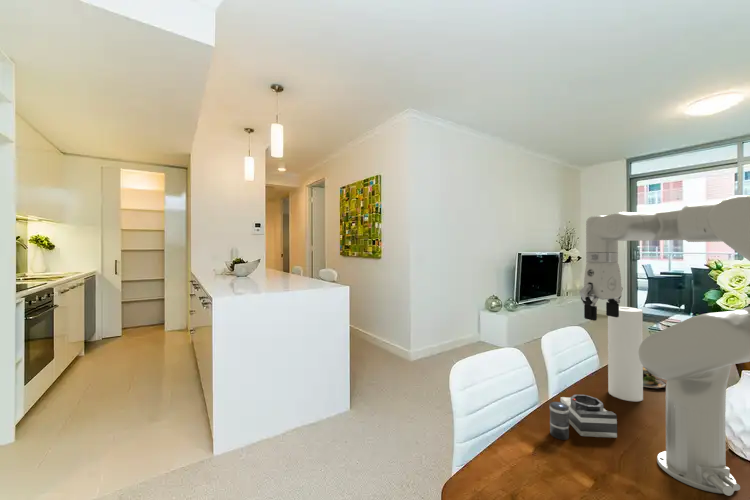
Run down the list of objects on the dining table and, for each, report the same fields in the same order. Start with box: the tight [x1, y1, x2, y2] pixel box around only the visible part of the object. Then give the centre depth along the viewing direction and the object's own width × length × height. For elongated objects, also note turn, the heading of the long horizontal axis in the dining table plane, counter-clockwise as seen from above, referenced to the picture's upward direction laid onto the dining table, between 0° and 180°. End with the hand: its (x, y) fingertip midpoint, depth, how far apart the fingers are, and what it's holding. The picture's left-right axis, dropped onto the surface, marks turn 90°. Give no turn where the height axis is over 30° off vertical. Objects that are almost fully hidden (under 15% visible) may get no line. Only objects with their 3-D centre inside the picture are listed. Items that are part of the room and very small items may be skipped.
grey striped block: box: [559, 394, 618, 439], centre depth 93 cm, size 12×9×7 cm
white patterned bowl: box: [643, 367, 667, 390], centre depth 120 cm, size 12×12×8 cm
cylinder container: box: [607, 306, 644, 402], centre depth 111 cm, size 9×9×30 cm
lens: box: [549, 401, 570, 441], centre depth 88 cm, size 5×5×8 cm
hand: (601, 317), depth 94 cm, fingers open, 9 cm apart
